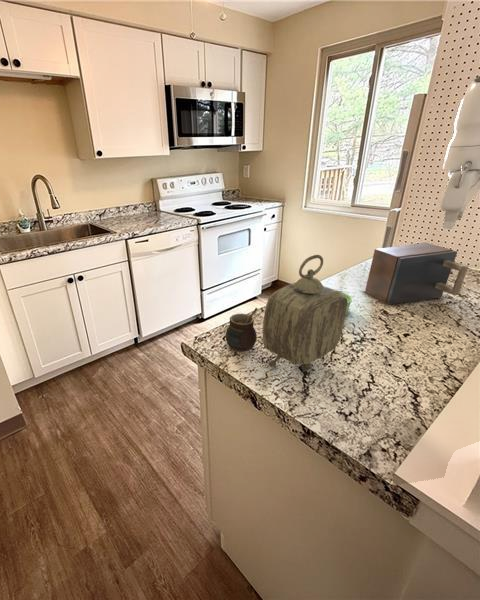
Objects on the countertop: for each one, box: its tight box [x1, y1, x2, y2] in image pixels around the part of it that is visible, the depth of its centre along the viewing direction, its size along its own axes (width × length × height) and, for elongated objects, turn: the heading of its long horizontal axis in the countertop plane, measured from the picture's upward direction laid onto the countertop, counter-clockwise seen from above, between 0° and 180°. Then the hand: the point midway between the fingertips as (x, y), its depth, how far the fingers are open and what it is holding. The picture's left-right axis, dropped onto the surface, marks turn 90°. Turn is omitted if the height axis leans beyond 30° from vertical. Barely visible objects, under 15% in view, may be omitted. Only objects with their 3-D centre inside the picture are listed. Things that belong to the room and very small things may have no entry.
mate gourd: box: [224, 307, 259, 353], centre depth 74 cm, size 7×8×10 cm
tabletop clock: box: [262, 254, 347, 370], centre depth 63 cm, size 14×9×25 cm, turn 120°
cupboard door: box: [386, 250, 469, 305], centre depth 83 cm, size 6×16×14 cm, turn 96°
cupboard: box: [364, 242, 454, 304], centre depth 90 cm, size 8×16×14 cm, turn 96°
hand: (452, 223), depth 73 cm, fingers open, 8 cm apart
